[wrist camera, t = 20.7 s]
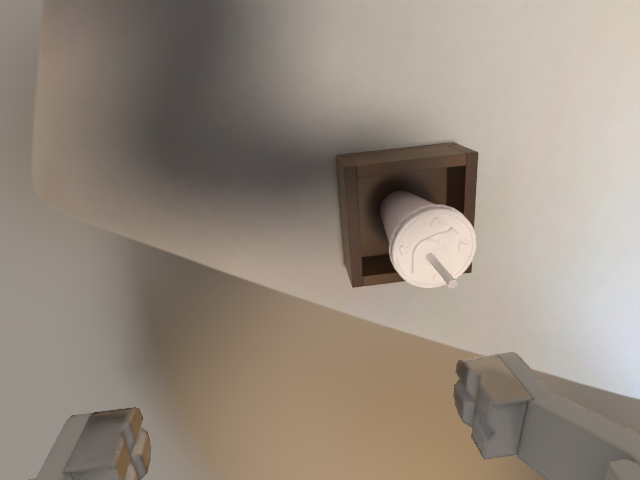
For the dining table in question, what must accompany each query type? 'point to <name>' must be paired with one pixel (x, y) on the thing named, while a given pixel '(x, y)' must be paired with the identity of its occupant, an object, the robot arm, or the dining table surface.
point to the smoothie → (427, 240)
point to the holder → (389, 176)
